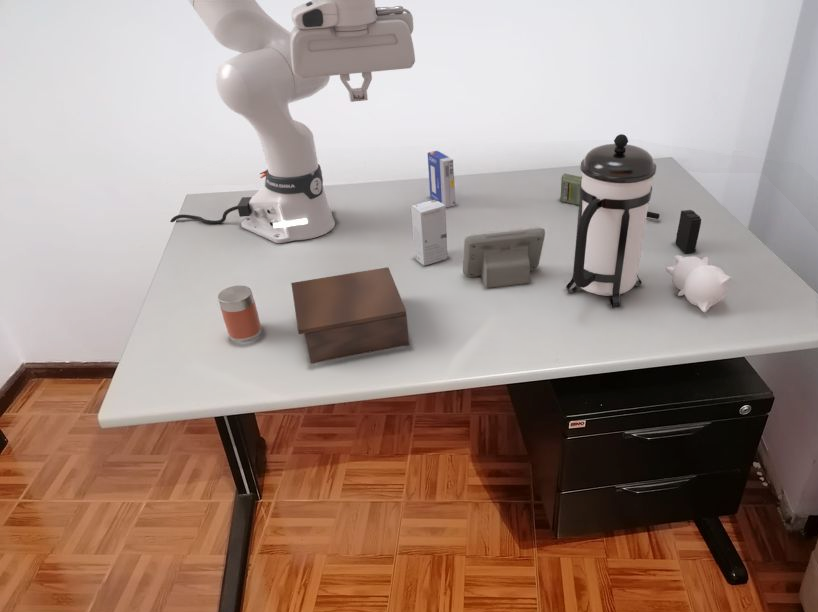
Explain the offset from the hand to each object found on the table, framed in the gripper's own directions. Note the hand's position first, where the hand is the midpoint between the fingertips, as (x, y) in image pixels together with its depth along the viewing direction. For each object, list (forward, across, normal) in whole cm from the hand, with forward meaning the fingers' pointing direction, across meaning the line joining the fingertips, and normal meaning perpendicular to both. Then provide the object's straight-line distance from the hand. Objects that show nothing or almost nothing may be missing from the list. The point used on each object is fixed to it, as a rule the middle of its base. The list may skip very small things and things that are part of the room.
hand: (358, 100), depth 109 cm
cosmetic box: (+35, -12, -5) cm, 38 cm away
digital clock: (+35, -24, +7) cm, 43 cm away
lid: (+28, +8, +18) cm, 34 cm away
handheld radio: (+35, -58, -15) cm, 70 cm away
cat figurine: (+35, -57, +27) cm, 72 cm away
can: (+35, +27, +13) cm, 46 cm away
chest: (+35, +8, +18) cm, 40 cm away
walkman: (+35, -22, -33) cm, 53 cm away
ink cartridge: (+35, -65, +8) cm, 75 cm away
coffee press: (+35, -40, +19) cm, 57 cm away
